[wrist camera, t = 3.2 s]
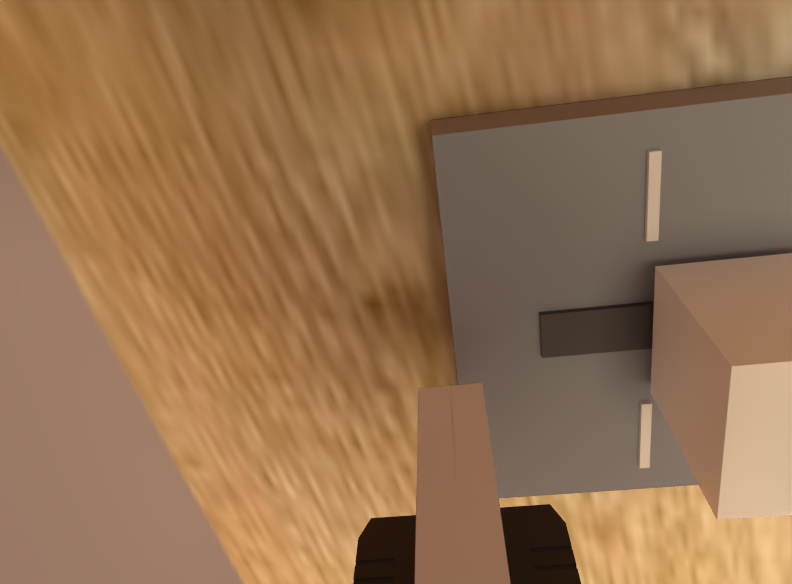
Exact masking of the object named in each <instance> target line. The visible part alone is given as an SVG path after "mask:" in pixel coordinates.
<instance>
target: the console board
mask: <svg viewBox="0 0 792 584" xmlns="http://www.w3.org/2000/svg"><path fill="white" fill-rule="evenodd" d="M431 128H432V144H433V153H434V163H435V172H436V182H437V191H438V201H439V210H440V220H441V229H442V239H443V248H444V258H445V267H446V277H447V286H448V296H449V305H450V315H451V324H452V334H453V343H454V353H455V362H456V372H457V381H458V385H464V384H476V383H483V390H484V397H485V404H486V411H487V418H488V425H489V433H490V440H491V447H492V454H493V461H494V469H495V476H496V483H497V490H498V497H499V498H510V497H524V496H539V495H554V494H569V493H584V492H598V491H613V490H628V489H643V488H658V487H672V486H687V485H699V484H698V482H697V481H696V479H695V477H694V475H693V473H692V471H691V469H690V467H689V465H688V463H687V461H686V460H685V458H684V456H683V454H682V452H681V450H680V448H679V446H678V444H677V442H676V441H675V439H674V437H673V435H672V433H671V431H670V429H669V427H668V425H667V423H666V421H665V420H664V418H663V416H662V414H661V412H660V410H659V408H658V406H657V404H656V402H655V401H654V399H653V397H652V395H651V367H652V340H653V313H654V286H655V266H663V265H674V264H684V263H694V262H705V261H715V260H725V259H735V258H746V257H756V256H766V255H777V254H787V253H792V77H784V78H776V79H767V80H759V81H751V82H743V83H734V84H726V85H718V86H709V87H701V88H693V89H685V90H676V91H668V92H660V93H651V94H643V95H635V96H626V97H618V98H610V99H602V100H593V101H585V102H577V103H568V104H560V105H552V106H544V107H535V108H527V109H519V110H510V111H502V112H494V113H486V114H477V115H469V116H461V117H452V118H444V119H436V120H431Z"/></svg>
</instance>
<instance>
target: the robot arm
mask: <svg viewBox="0 0 792 584" xmlns="http://www.w3.org/2000/svg"><path fill="white" fill-rule="evenodd" d="M354 584H581V581H580V577H579V573H578V569H577V567H576V562H575V558H574V554H573V550H572V547H571V542H570V538H569V534H568V530H567V527H566V523H565V522H564V521H563V519H562V518H561V517H560V516H559V515H558V513H557V512H556V511H555V510H554V509H553V508H552V506H551V505H550V504H548V505H533V506H519V507H504V508H500V504H499V497H498V490H497V483H496V476H495V469H494V461H493V454H492V447H491V440H490V433H489V425H488V418H487V411H486V404H485V397H484V390H483V383H476V384H464V385H453V386H441V387H429V388H419V389H418V441H417V493H416V515H412V516H398V517H383V518H371V519H370V521H369V522H368V524H367V526H366V527H365V529H364V530H363V532H362V534H361V535H360V537H359V538H358V546H357V555H356V565H355V571H354Z"/></svg>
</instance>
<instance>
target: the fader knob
mask: <svg viewBox="0 0 792 584" xmlns="http://www.w3.org/2000/svg"><path fill="white" fill-rule="evenodd" d="M651 395H652V397H653V399H654V401H655V402H656V404H657V406H658V408H659V410H660V412H661V414H662V416H663V418H664V420H665V421H666V423H667V425H668V427H669V429H670V431H671V433H672V435H673V437H674V439H675V441H676V442H677V444H678V446H679V448H680V450H681V452H682V454H683V456H684V458H685V460H686V461H687V463H688V465H689V467H690V469H691V471H692V473H693V475H694V477H695V479H696V481H697V482H698V484H699V486H700V488H701V490H702V492H703V494H704V496H705V498H706V500H707V501H708V503H709V505H710V507H711V509H712V511H713V513H714V515H715V517H716V519H717V520H723V519H739V518H755V517H771V516H786V515H792V253H787V254H777V255H766V256H756V257H746V258H735V259H725V260H715V261H705V262H694V263H684V264H674V265H663V266H655V286H654V313H653V340H652V367H651Z"/></svg>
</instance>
